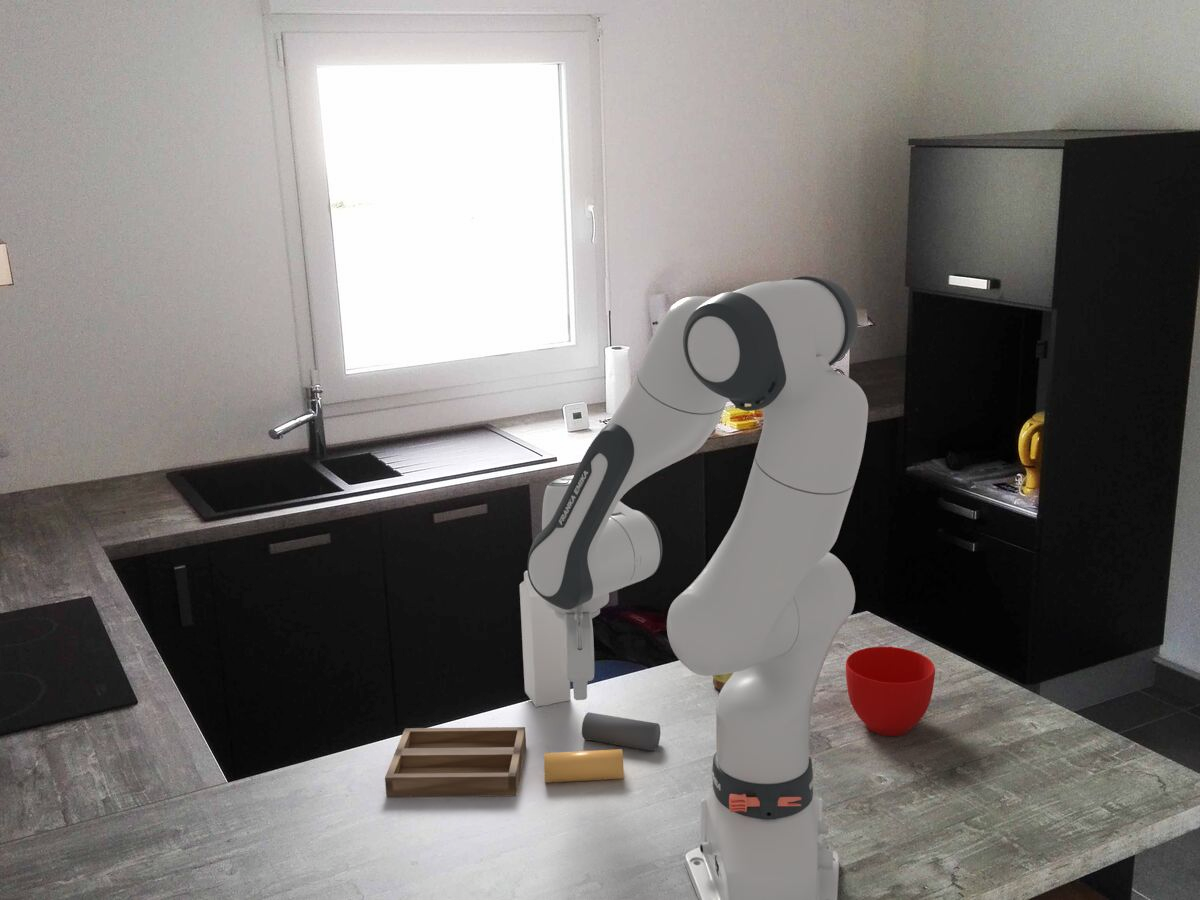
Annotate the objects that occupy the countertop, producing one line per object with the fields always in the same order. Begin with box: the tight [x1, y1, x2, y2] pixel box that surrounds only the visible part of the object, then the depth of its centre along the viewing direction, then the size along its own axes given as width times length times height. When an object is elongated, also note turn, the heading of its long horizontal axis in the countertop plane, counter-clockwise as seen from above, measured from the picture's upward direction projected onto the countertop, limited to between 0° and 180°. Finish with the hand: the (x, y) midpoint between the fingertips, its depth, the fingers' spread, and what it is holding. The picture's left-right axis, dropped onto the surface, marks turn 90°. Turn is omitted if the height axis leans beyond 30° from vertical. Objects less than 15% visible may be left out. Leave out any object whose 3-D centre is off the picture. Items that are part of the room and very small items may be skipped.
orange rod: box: [543, 748, 625, 784], centre depth 164 cm, size 11×4×4 cm
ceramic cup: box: [845, 645, 936, 737], centre depth 177 cm, size 13×17×10 cm
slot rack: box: [384, 726, 527, 798], centre depth 167 cm, size 14×18×3 cm
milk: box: [519, 570, 572, 708], centre depth 186 cm, size 6×6×22 cm
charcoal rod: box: [581, 711, 661, 752], centre depth 173 cm, size 11×4×4 cm, turn 68°
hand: (579, 681), depth 162 cm, fingers open, 8 cm apart
